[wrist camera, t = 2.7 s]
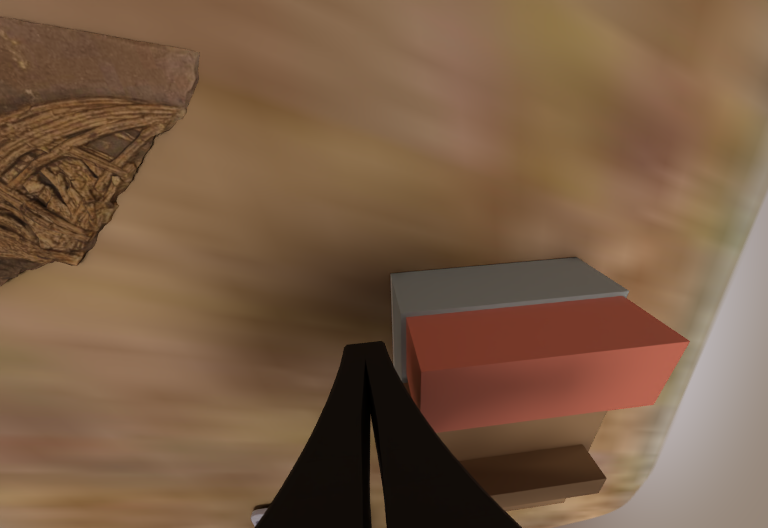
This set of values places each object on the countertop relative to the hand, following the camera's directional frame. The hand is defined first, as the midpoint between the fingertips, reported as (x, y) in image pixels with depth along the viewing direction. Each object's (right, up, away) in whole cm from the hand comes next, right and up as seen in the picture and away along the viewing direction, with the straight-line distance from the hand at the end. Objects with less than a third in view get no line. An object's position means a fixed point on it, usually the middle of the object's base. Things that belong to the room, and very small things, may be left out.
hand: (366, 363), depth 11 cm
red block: (+6, +1, +1) cm, 6 cm away
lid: (+6, -5, +4) cm, 9 cm away
